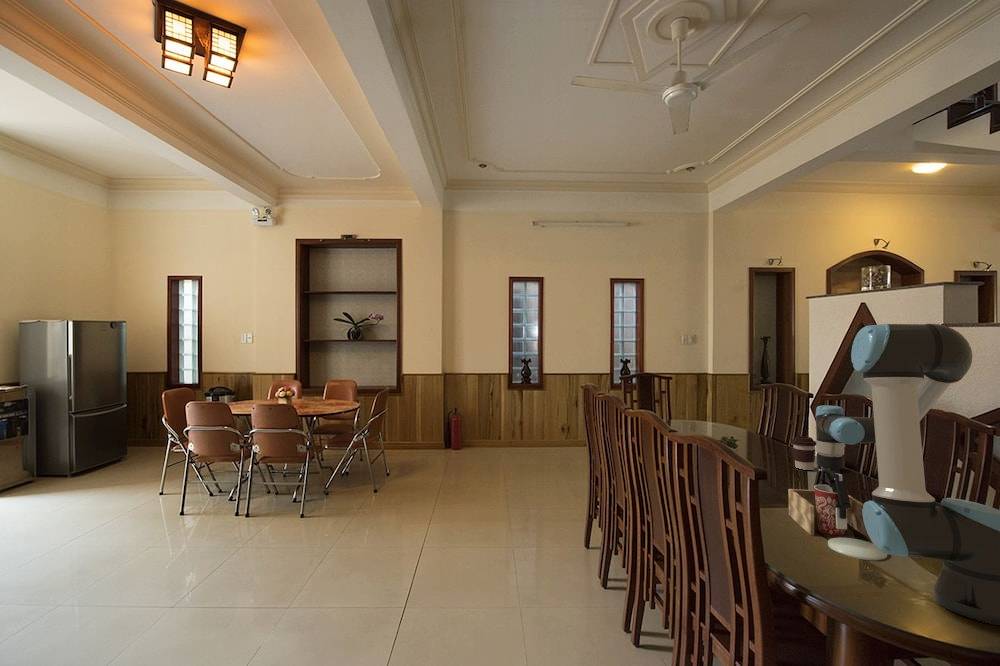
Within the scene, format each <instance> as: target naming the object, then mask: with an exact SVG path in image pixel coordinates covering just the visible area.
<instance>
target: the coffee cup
mask: <svg viewBox="0 0 1000 666" xmlns="http://www.w3.org/2000/svg"><path fill="white" fill-rule="evenodd" d="M791 444H792V445H793V447H792V450H793V460H794V466H795V467H796V468H799V469H803V470H813V471H814V469H815V468H814V467H815V460H816V459H815V457H816V440H814V439H813V437H810V436H804V435H803V436H802V435H801V436H799V435H798V436H795V437H794V438H792V439H791ZM796 468H795V469H796Z"/></svg>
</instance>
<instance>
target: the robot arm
mask: <svg viewBox="0 0 1000 666" xmlns="http://www.w3.org/2000/svg"><path fill="white" fill-rule="evenodd" d="M850 353H851V354H850V356H851V363H852V367H853V368H854V370H855V371H856V372H859V373H860V374H861V373H862V377H863V378H862V379H863V381H864V382H865V383H867V384H868V385H869V386H870V387H871V397H872V399H871V400H872V411H873V413H872V414H873V417H870V416H869V417H865V416H864V417H863V416H860V417H859V416H845V412H844V408H843V407H842V406H839V405H837V406H836V405H825V404H824V405H819V406H817V407H816V409H815V416H814V418H815V433H816V437H815V441H816V446H815V452H816V453H817V454H816V465H817V469H816V475H815V479H814V483H813V487H814V486H815V485H829V486H830V487H831V488H832V491H833V493H838V495H836V494H835V500H836V503H837V505H836V506H835V508H836V528H837V529H845V530H848V523H847V508H851V505H850V500H849V496H850V495H849V490H848V487H847V483H846V474H845V473H844V474H842V473H840V469H844V468H845V466H846V464H845V463H846V459H845V456H844V455H845V448H846V445H857V444H859V443H860V444H875V449H876V450H875V451H876V461H877V463H876V464H877V476H878V487H876V488H875V489H874V490H873V491H872V492H871V497H872V500H868V501H865V502H864V503H863V504H864V505H863V509H862V514H863V521H864V525H865V528H866V531H867V533H868V535H869V537H870V539H869V540H871V543H873V544H874V545H875V546H876V547H877V548H878V549H879V550H880V551H881V552H883V553H886V554H887V555H890V556H891V555H892V556H897V557H898V556H899V557H902V558H917V559H918V558H919V559H933V560H942V568H941V571H940V572H939V574H938V576H937V579H936V582H935V584H934V585H933V598H934V600H935V601H936V602H937V604H939V605H940V606H942V607H943V608H945V609H946V608H947V609H946V610H948V609H949V610H948V611H950V610H951V611H950V612H952V611H954V612H956V613H955V614H957V613H959V614H961V615H964V616H966V617H965V618H967V617H969V618H968V619H970V618H972V619H971V620H973V619H976V620H978V621H977V622H980V621H982V622H981V623H984V622H985V623H984V624H988V623H989V624H988V625H994V626H999V627H1000V509H997V508H994V507H992V506H989V505H986V504H983V503H982V504H981V503H979V502H976V501H975V502H974V501H970V500H966V499H962V498H961V499H960V498H952V497H946V498H945V497H944V498H942V499H941V501H940V505H936V498H935V497H933V496H932V495H931V494H929V492H928V491H927V489H926V480H925V468H924V457H923V455H924V454H923V446H922V445H923V444H922V435H921V425H920V424H921V423H920V422H921V421H922V419H923V418H924V417H925V416H926V415H927V413H928V412H929V411H930V409H932V408H933V406H934V405H935V404H936V403H937V401H938V400H939V399H940V398H941V396H943V394H944V393H945V392H946V391H947V389H948V388H949V387H950V386H951V384H955V383H958V382H960V381H961V380H962V379H963V378H964V377H965V376H966V375H967V374H968V372H969V370H970V368H971V367H972V363H973V351H972V348H971V345H970V343H969V342H968V340H967V339H966V338H965V336H964V335H962V333H960V332H959V331H958V330H956V329H954V328H952V327H949V326H947V325H943V324H939V323H938V324H937V323H925V324H924V323H922V324H921V323H920V324H919V323H882V324H874V325H873V324H872V325H866V326H864V327H862V328H861V329H860V330H859V331H858V332H857V333H856V335H855V338H854V340H853V342H852V345H851V352H850ZM847 490H848V491H847ZM848 495H849V496H848ZM954 612H953V613H954ZM959 614H958V615H959ZM961 615H960V616H961ZM964 616H963V617H964ZM976 620H975V621H976Z"/></svg>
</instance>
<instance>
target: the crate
mask: <svg viewBox="0 0 1000 666" xmlns="http://www.w3.org/2000/svg"><path fill="white" fill-rule="evenodd" d="M848 496H849V500H850V505H851V508H847V525H849V526H850V527H852V528H853V529H854V530H856V531H857V532H858V533H860V534H861V535H863V536H864V537H866V539H868V540H871V539H870V537H869V535H868V533H867V531H866V528H865V525H864V521H863V514H862V509H863V505H864V503H862V501H859V500H858V499H856V498H854V497H853V496H851V495H850V494H848ZM788 516H790V517H791V518H792V519H793V521H795V522H796V523H797V524H798V525H799V526H800V527H801V528H802V529H803V530H805V532H807V534H809V535H810V536H815V518H817V512H816V500H815V489H796V488H795V489H794V488H788Z"/></svg>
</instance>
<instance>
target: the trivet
mask: <svg viewBox="0 0 1000 666" xmlns="http://www.w3.org/2000/svg"><path fill="white" fill-rule="evenodd" d="M827 546H828V548H829V549H830V550H832V551H833V552H836V553H838V554H840V555H842V556H845V557H849V558H853V559H858V560H863V561H876V562H877V561H883V560H886V559H887V558H888V554H886V553H883V552H881V551H880V550H879V549H878V548H877V547H876V546H875V545H874V544H873V542H870V541H867V540H863V539H858V538H851V537H833V538H829V539H828V540H827Z"/></svg>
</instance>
